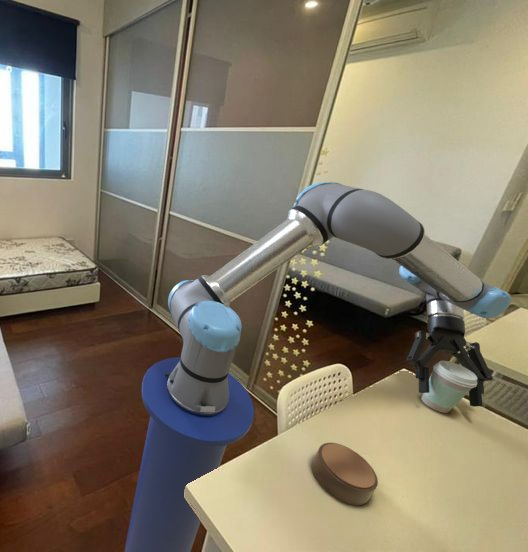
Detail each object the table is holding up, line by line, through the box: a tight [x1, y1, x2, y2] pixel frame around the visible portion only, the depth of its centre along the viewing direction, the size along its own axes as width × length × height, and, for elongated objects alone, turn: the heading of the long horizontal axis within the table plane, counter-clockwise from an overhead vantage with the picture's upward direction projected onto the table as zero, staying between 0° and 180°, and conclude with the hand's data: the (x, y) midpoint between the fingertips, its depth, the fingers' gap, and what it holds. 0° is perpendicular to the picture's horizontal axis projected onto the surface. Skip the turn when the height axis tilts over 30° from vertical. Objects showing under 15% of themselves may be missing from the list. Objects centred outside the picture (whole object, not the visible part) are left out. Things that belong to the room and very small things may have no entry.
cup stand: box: [311, 442, 379, 506], centre depth 63 cm, size 10×10×4 cm
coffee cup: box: [421, 360, 477, 414], centre depth 85 cm, size 9×9×12 cm
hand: (449, 399), depth 83 cm, fingers open, 11 cm apart
